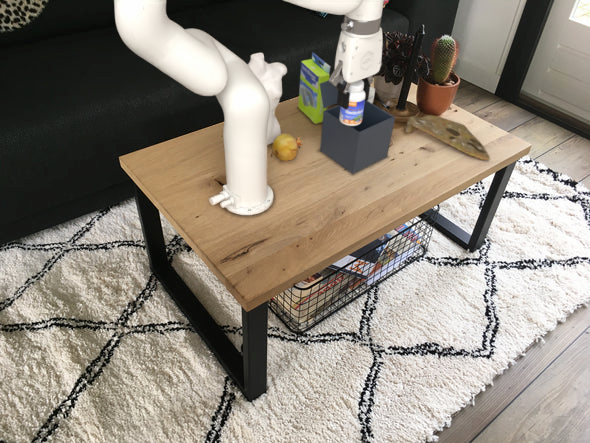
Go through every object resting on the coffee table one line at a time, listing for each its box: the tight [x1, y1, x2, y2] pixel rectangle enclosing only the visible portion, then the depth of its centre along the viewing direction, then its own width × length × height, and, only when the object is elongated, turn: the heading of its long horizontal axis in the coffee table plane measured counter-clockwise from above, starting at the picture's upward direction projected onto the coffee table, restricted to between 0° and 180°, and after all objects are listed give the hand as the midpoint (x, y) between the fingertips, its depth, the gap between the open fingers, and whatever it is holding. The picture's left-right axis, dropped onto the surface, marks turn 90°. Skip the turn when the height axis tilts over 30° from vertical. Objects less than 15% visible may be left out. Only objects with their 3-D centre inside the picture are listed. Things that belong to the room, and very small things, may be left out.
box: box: [298, 52, 331, 125], centre depth 145 cm, size 10×4×17 cm, turn 29°
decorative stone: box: [404, 114, 491, 161], centre depth 144 cm, size 25×15×5 cm, turn 51°
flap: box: [320, 81, 346, 109], centre depth 130 cm, size 13×6×1 cm
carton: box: [319, 101, 396, 175], centre depth 133 cm, size 13×13×12 cm
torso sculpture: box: [246, 52, 288, 146], centre depth 131 cm, size 18×10×25 cm, turn 124°
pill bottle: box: [339, 80, 366, 126], centre depth 115 cm, size 5×5×10 cm
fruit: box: [270, 133, 303, 162], centre depth 132 cm, size 7×7×10 cm
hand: (352, 101), depth 115 cm, fingers closed on pill bottle, 5 cm apart
